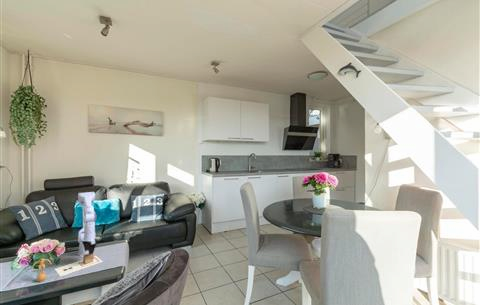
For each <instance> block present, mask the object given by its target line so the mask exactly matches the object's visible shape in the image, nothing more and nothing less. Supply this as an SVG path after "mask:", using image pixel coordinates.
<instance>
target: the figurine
mask: <svg viewBox="0 0 480 305" xmlns="http://www.w3.org/2000/svg"><path fill="white" fill-rule="evenodd" d="M46 261H48V263H49V264H50V265H52V262H51V261H50V260H49V259H47V258H43V257H42V258H40V259H39V260H37V261H35V262H34V263H33V264H32V266H31V271H32V270H33V268H34V266H35V265H36V264H38V263H39V265H38V272H39V274H38V275H37V276H36V280H37V282H43V281H44V280H46V279H47V277H48V276H47V273H45V267H46V264H45V262H46ZM41 268H42V272H41Z"/></svg>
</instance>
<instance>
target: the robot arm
mask: <svg viewBox="0 0 480 305" xmlns="http://www.w3.org/2000/svg"><path fill="white" fill-rule="evenodd" d="M95 198H96V194H95V191H89V192H88V191H86V192H78V194H77V202H78V205H79V206H81V208H82V228H81V229H80V230H78V232H77V233H78V234H77V243H79V246H78V252H77V253H76V254H77V255H78V256H80V258H83V255H85V254H88V253H89V255H90V254H95V253H96V252H95V249H96V246H97V245H98V242H97V241H96V240H95V239H96V221H97V214H96V211H95V207H94V206H93V204H94V202H95Z"/></svg>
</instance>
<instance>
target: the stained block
mask: <svg viewBox="0 0 480 305" xmlns="http://www.w3.org/2000/svg"><path fill="white" fill-rule="evenodd" d="M94 254H95V253H94ZM94 254H90V255H89V253H88V254H85V255H83V257H82V260H83V263H84V264H85V265H86V264H88V263H91V262H93V259H94V256H95V255H94Z"/></svg>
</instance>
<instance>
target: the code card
mask: <svg viewBox="0 0 480 305" xmlns="http://www.w3.org/2000/svg"><path fill="white" fill-rule="evenodd" d="M103 262H104V260H102V259H101V258H99V257H98V256H97V255H94V259H93V262H91V263H88V264H86V265H85V264H84V263H83V259H81V260H79V261H75V262H72V263H69V264H65V265H64V266H63V265H62V266H59V267H56V268H54V270H55V271H56V273H57V274H58V275H59V277H63V276H66V275H69V274H72V273H74V272H77V271H80V270H83V269H86V268H89V267H91V266H92V267H93V266H94V265H97V264H100V263H103Z"/></svg>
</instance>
